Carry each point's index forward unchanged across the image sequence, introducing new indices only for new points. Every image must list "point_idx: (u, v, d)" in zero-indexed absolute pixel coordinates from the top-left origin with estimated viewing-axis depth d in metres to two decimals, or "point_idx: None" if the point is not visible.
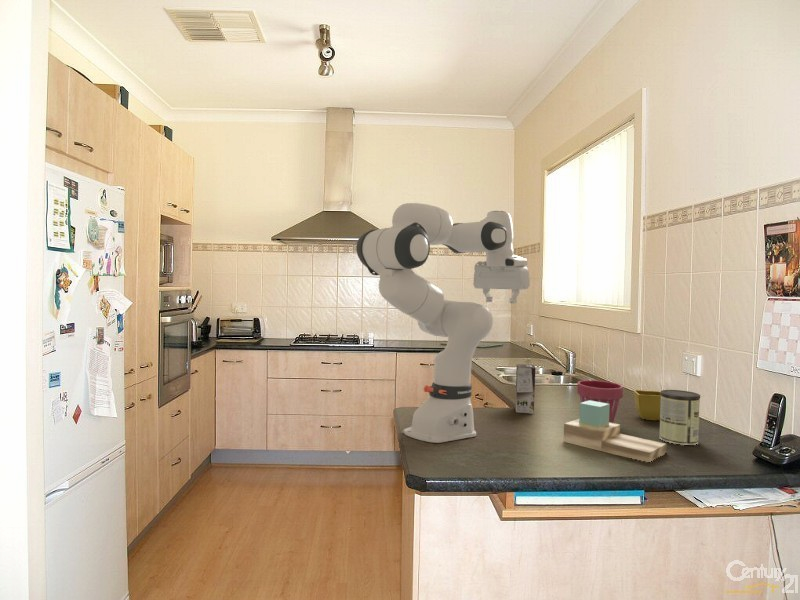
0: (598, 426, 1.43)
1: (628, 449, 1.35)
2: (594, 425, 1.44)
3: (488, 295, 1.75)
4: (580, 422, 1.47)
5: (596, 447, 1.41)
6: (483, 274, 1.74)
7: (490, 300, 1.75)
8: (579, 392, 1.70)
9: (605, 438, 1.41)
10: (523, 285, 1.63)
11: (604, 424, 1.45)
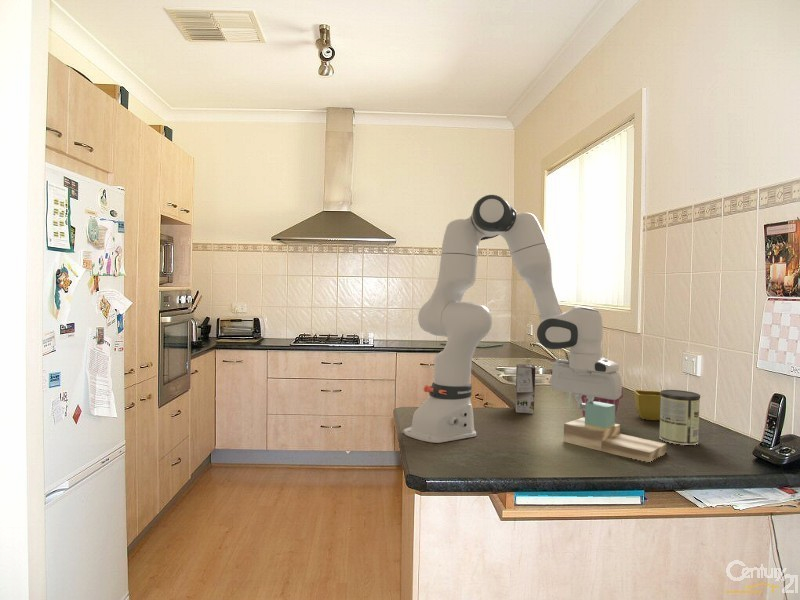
0: (604, 427, 1.42)
1: (628, 449, 1.35)
2: (600, 426, 1.43)
3: (580, 401, 1.51)
4: (586, 423, 1.46)
5: (596, 447, 1.41)
6: (563, 375, 1.53)
7: None
8: None
9: (605, 438, 1.41)
10: (615, 395, 1.42)
11: (610, 425, 1.44)
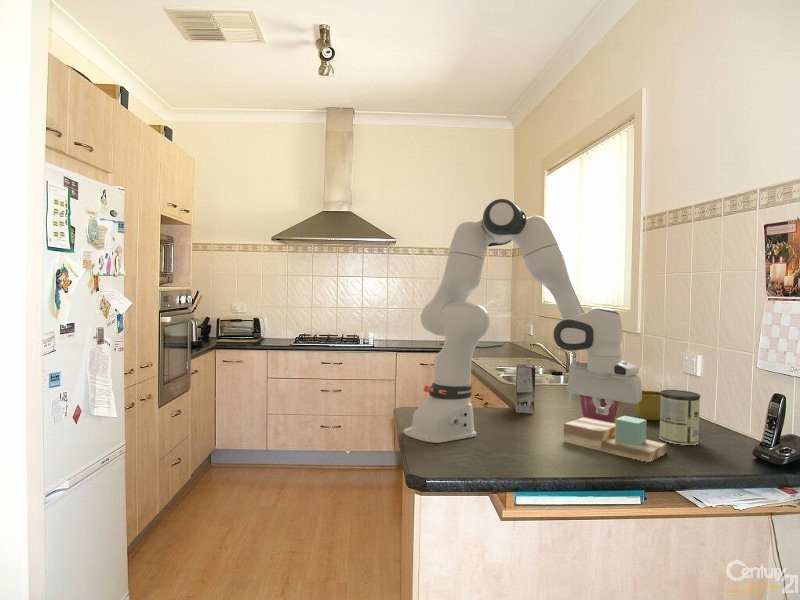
0: (616, 440, 1.40)
1: (628, 449, 1.35)
2: (616, 436, 1.40)
3: (599, 405, 1.47)
4: (617, 420, 1.40)
5: (596, 447, 1.41)
6: (581, 378, 1.49)
7: None
8: None
9: (605, 438, 1.41)
10: (636, 399, 1.38)
11: None
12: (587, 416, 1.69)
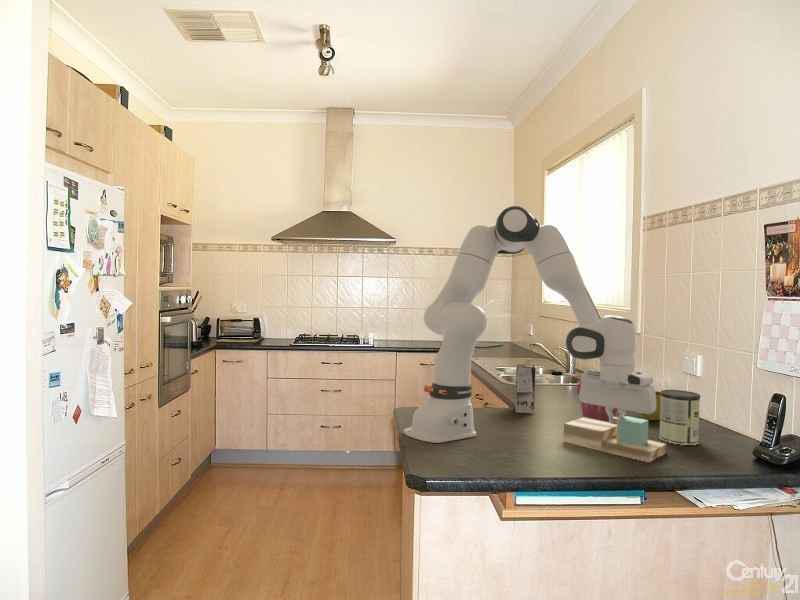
0: (618, 440, 1.40)
1: (628, 449, 1.35)
2: (618, 436, 1.40)
3: (612, 415, 1.44)
4: (619, 421, 1.40)
5: (596, 447, 1.41)
6: (593, 387, 1.46)
7: None
8: (579, 392, 1.70)
9: (605, 438, 1.41)
10: (650, 409, 1.35)
11: None
12: (587, 416, 1.69)
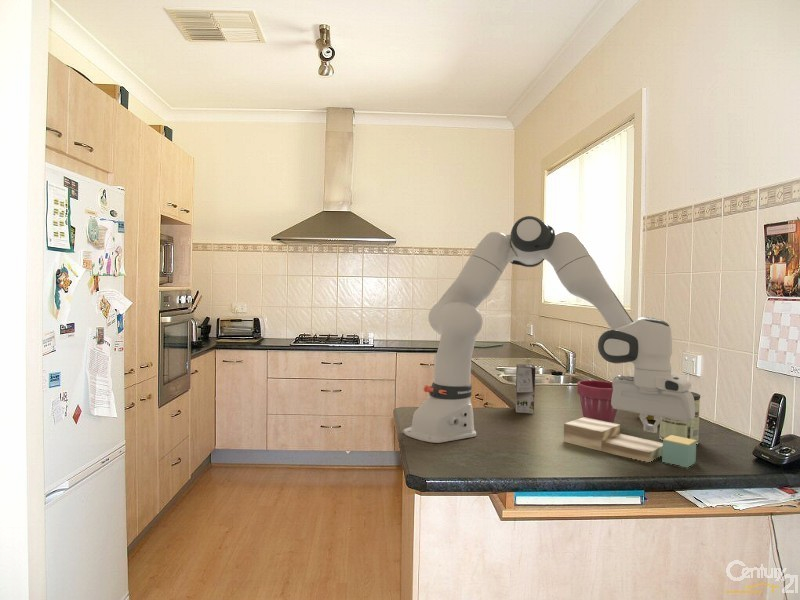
0: (664, 441, 1.32)
1: (628, 449, 1.35)
2: (668, 442, 1.31)
3: (646, 422, 1.37)
4: (686, 446, 1.28)
5: (596, 447, 1.41)
6: (626, 393, 1.39)
7: None
8: (579, 392, 1.70)
9: (605, 438, 1.41)
10: (689, 417, 1.28)
11: None
12: (587, 416, 1.69)
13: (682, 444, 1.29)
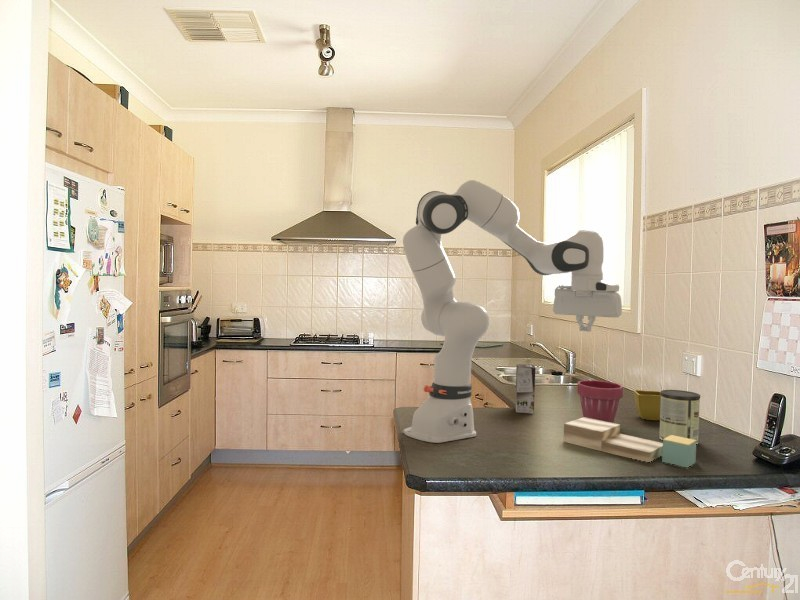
0: (664, 441, 1.32)
1: (628, 449, 1.35)
2: (668, 442, 1.31)
3: (582, 323, 1.56)
4: (686, 446, 1.28)
5: (596, 447, 1.41)
6: (565, 299, 1.59)
7: None
8: (579, 392, 1.70)
9: (605, 438, 1.41)
10: (616, 312, 1.47)
11: None
12: (587, 416, 1.69)
13: (682, 444, 1.29)
